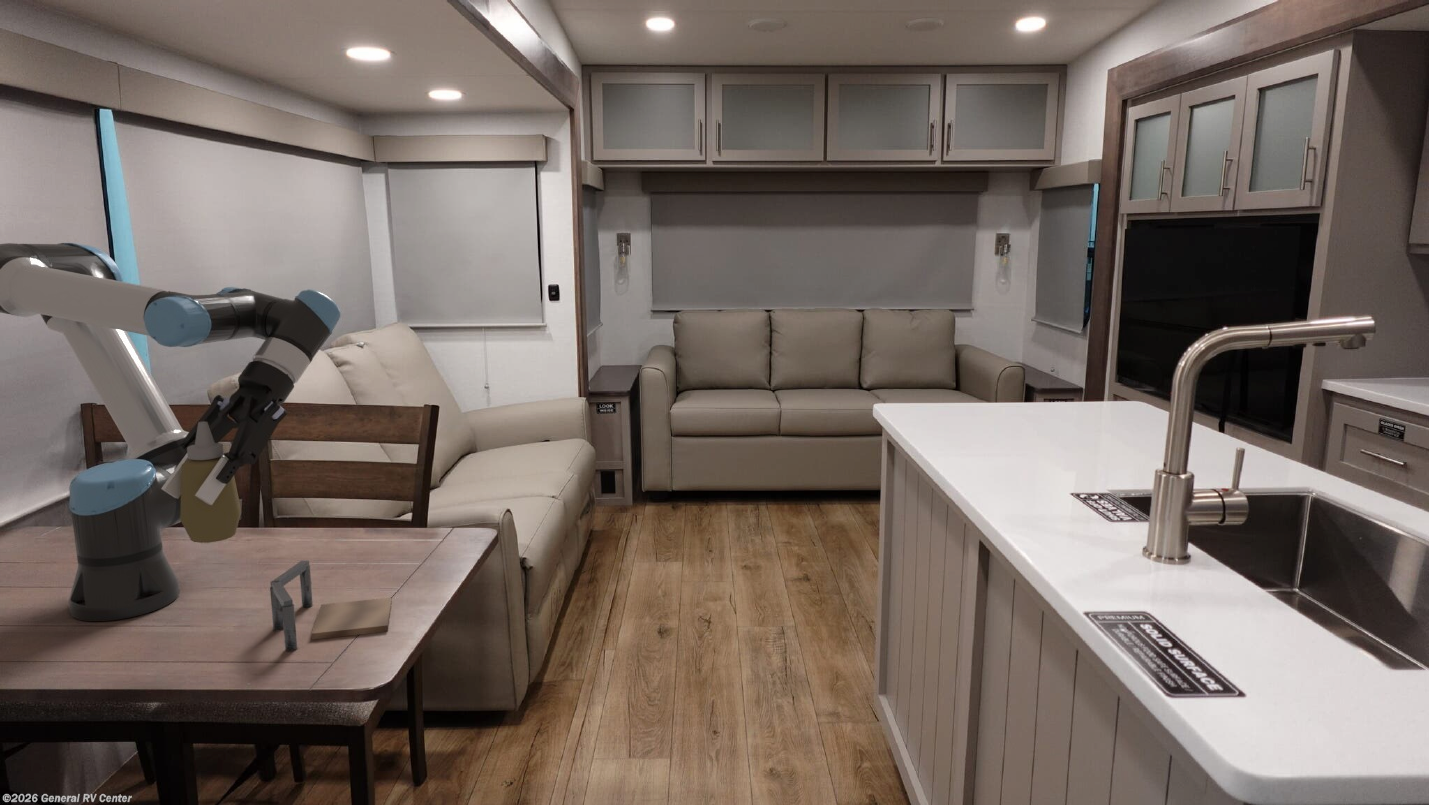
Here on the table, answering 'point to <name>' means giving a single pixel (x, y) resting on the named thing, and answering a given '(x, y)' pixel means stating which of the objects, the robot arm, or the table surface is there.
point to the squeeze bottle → (195, 513)
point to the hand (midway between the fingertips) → (186, 496)
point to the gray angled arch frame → (289, 601)
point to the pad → (352, 618)
